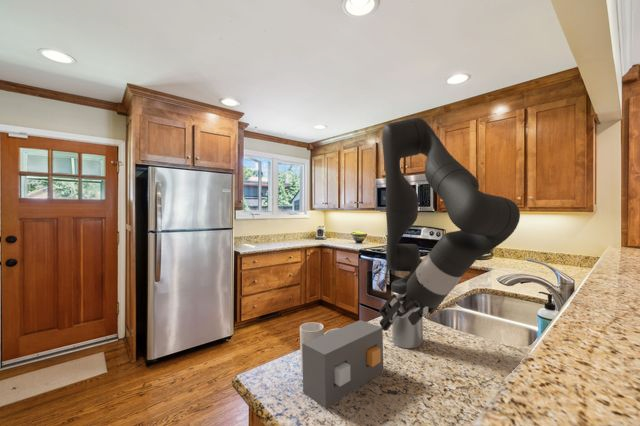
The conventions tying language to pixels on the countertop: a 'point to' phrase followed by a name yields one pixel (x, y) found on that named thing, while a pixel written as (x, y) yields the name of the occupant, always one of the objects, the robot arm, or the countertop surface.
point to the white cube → (341, 373)
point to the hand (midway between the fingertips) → (397, 324)
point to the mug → (309, 334)
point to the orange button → (373, 356)
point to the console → (339, 361)
